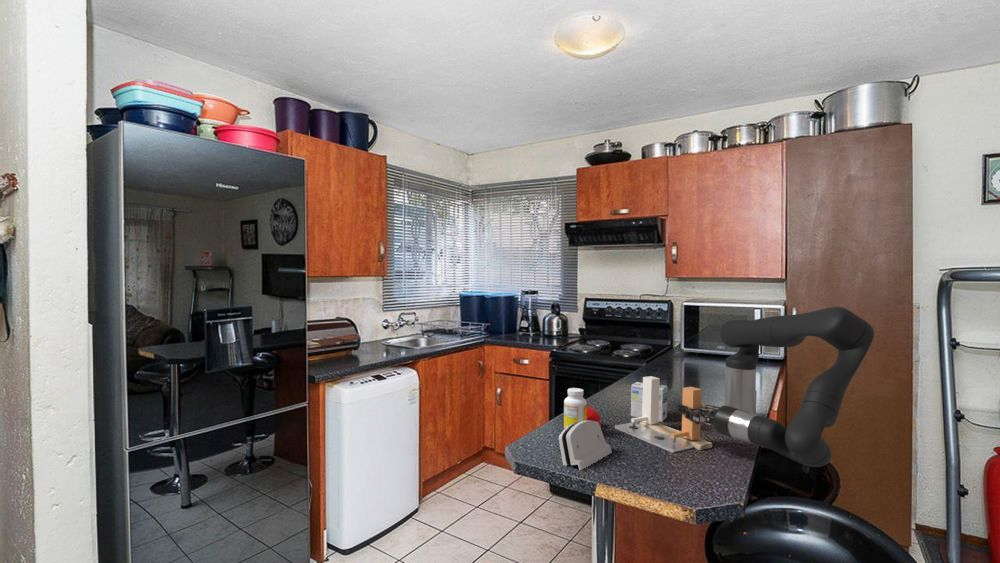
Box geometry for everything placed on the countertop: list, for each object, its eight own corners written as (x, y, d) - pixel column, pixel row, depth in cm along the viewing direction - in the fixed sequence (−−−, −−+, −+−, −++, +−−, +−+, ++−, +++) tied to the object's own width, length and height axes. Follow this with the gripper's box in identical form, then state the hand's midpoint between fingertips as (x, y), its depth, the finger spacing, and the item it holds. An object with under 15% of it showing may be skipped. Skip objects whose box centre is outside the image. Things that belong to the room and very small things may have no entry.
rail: (650, 424, 146) (650, 420, 146) (712, 447, 127) (712, 443, 127) (639, 426, 143) (639, 422, 143) (700, 450, 124) (700, 445, 124)
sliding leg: (689, 435, 132) (691, 386, 132) (700, 439, 129) (701, 389, 129) (667, 440, 128) (668, 389, 128) (677, 444, 125) (679, 392, 124)
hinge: (580, 471, 109) (569, 428, 111) (564, 472, 112) (553, 430, 114) (612, 452, 121) (602, 414, 124) (597, 453, 124) (587, 416, 126)
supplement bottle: (579, 428, 140) (581, 386, 140) (589, 435, 134) (591, 392, 134) (559, 429, 138) (560, 387, 138) (569, 437, 132) (570, 393, 132)
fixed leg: (649, 420, 145) (651, 376, 145) (658, 424, 142) (659, 378, 142) (628, 424, 141) (629, 378, 141) (636, 428, 138) (638, 381, 138)
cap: (572, 417, 141) (589, 409, 138) (575, 406, 146) (591, 398, 143) (587, 437, 141) (603, 430, 139) (589, 425, 147) (605, 418, 144)
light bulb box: (667, 417, 154) (668, 385, 154) (662, 422, 148) (663, 389, 148) (635, 411, 159) (636, 381, 159) (629, 416, 154) (630, 384, 154)
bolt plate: (633, 424, 145) (633, 421, 145) (692, 448, 126) (692, 444, 126) (614, 428, 141) (614, 425, 141) (672, 452, 122) (672, 449, 122)
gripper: (755, 406, 121) (699, 391, 136) (721, 413, 114) (666, 396, 129) (755, 434, 121) (698, 416, 136) (721, 443, 114) (665, 423, 129)
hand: (683, 407), depth 132 cm, fingers closed on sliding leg, 3 cm apart
